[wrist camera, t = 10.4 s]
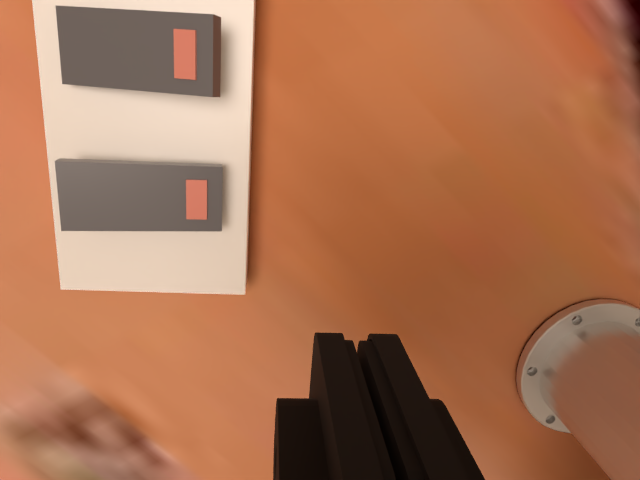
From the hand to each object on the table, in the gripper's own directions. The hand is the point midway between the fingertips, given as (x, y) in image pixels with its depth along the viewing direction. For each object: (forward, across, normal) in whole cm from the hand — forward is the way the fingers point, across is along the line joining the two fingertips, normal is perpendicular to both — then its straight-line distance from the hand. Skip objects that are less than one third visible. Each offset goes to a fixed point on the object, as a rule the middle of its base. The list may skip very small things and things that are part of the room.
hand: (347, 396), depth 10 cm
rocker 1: (+20, +9, -7) cm, 23 cm away
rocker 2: (+20, +9, +1) cm, 22 cm away
